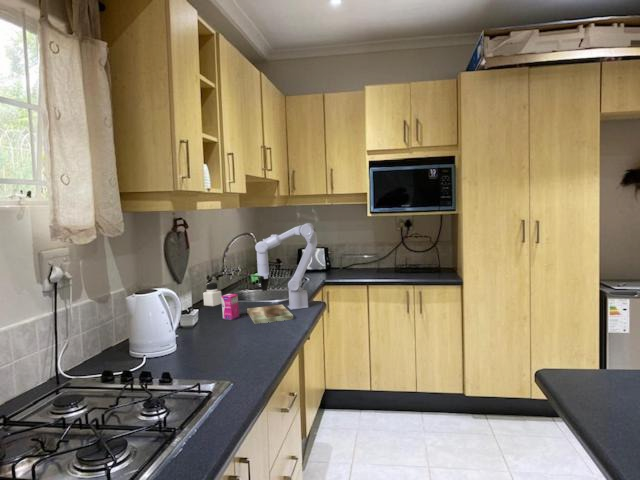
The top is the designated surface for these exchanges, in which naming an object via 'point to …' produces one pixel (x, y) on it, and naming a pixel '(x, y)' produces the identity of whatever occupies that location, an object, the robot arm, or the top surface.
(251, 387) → the top surface
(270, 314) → the walnut block
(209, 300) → the medicine bottle
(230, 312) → the supplement box
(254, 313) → the trap deck
